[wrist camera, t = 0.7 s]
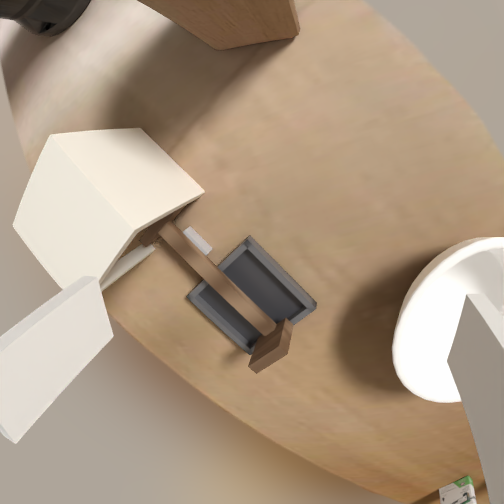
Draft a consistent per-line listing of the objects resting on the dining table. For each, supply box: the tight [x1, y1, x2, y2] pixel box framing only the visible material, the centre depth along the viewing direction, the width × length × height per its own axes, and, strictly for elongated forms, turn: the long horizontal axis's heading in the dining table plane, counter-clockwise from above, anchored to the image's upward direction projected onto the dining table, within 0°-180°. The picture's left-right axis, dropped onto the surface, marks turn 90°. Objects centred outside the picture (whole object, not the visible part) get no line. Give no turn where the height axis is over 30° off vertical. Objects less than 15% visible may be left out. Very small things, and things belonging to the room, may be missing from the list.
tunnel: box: [13, 128, 213, 292], centre depth 33 cm, size 18×12×16 cm
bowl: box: [392, 237, 504, 403], centre depth 32 cm, size 22×22×8 cm
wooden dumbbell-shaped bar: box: [139, 205, 293, 374], centre depth 37 cm, size 21×7×8 cm, turn 46°
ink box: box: [439, 476, 476, 504], centre depth 45 cm, size 9×5×12 cm, turn 133°
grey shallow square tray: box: [187, 236, 317, 355], centre depth 41 cm, size 12×12×2 cm
